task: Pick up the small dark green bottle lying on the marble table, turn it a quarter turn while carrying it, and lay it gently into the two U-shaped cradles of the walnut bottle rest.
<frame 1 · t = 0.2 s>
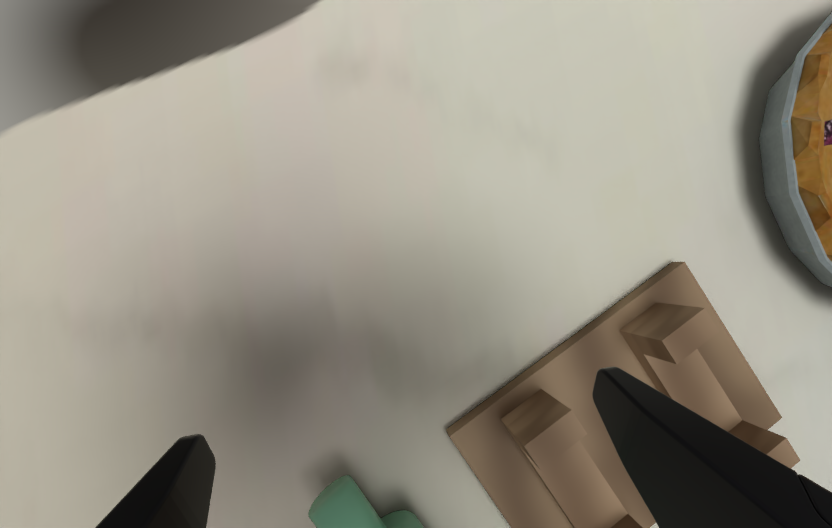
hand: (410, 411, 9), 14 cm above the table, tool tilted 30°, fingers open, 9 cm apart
bottle rest: (614, 420, 25), on the table
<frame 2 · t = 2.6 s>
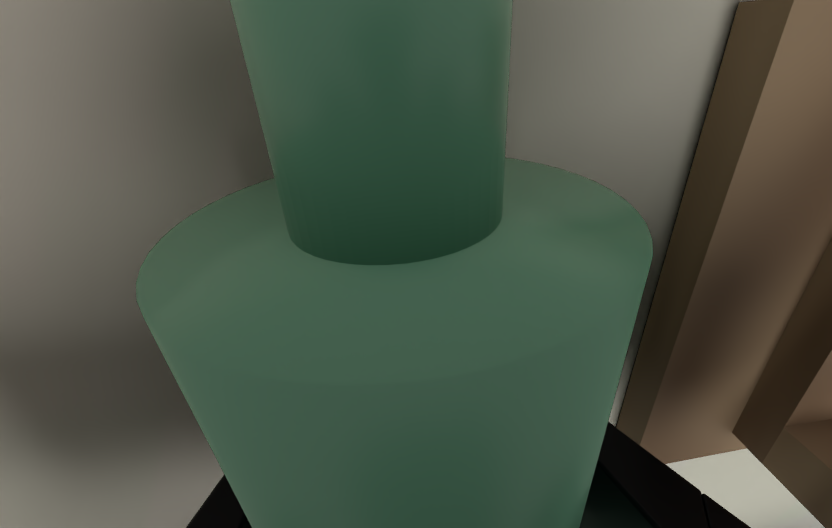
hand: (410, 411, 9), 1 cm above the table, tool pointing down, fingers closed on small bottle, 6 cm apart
small bottle: (407, 385, 10), on the table, touching gripper
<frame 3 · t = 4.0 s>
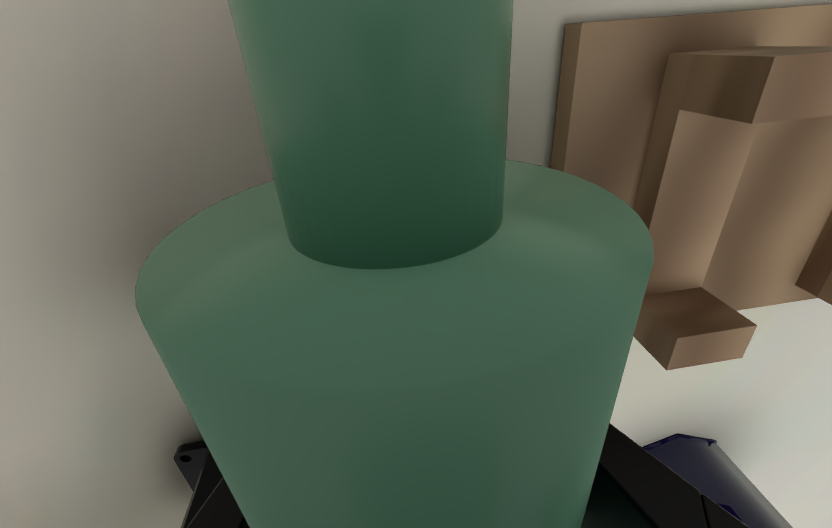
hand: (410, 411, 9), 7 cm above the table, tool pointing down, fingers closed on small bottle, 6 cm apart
small bottle: (408, 386, 10), point 6 cm above the table, touching gripper
bottle: (654, 475, 27), on the table
bottle rest: (756, 179, 16), on the table
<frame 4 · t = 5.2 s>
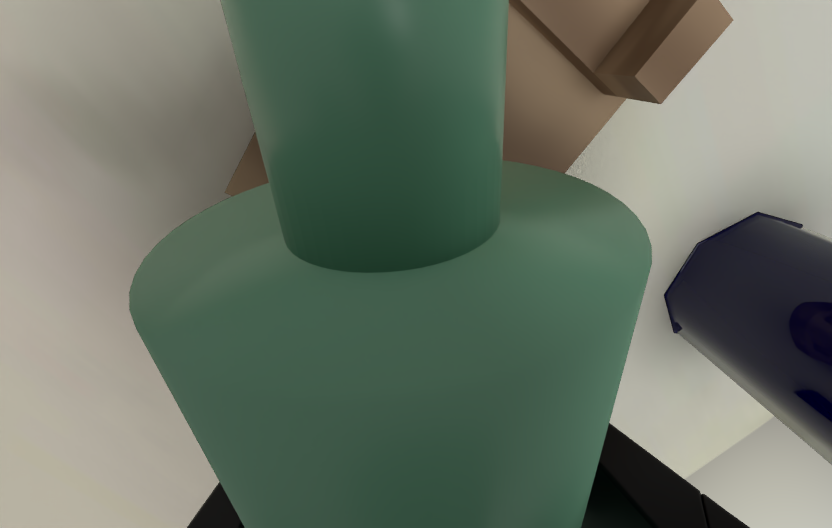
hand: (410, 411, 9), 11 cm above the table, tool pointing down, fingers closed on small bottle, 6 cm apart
small bottle: (407, 387, 10), point 10 cm above the table, touching gripper
bottle: (731, 280, 24), on the table
bottle rest: (463, 83, 16), on the table
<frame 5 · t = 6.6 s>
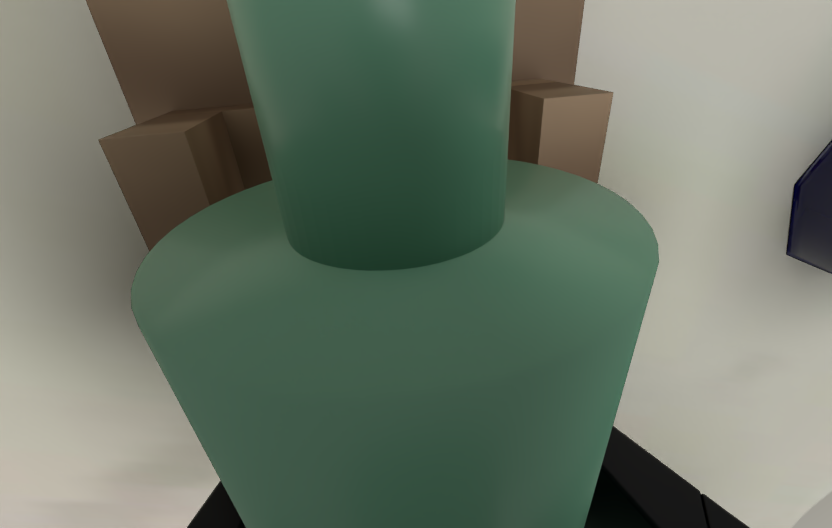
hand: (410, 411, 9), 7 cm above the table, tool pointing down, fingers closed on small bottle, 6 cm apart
small bottle: (408, 387, 10), point 5 cm above the table, touching gripper
bottle rest: (385, 266, 14), on the table
when the fingers open (5 cm above the table, at t = 7.8 s): small bottle drops 2 cm, resting on bottle rest.
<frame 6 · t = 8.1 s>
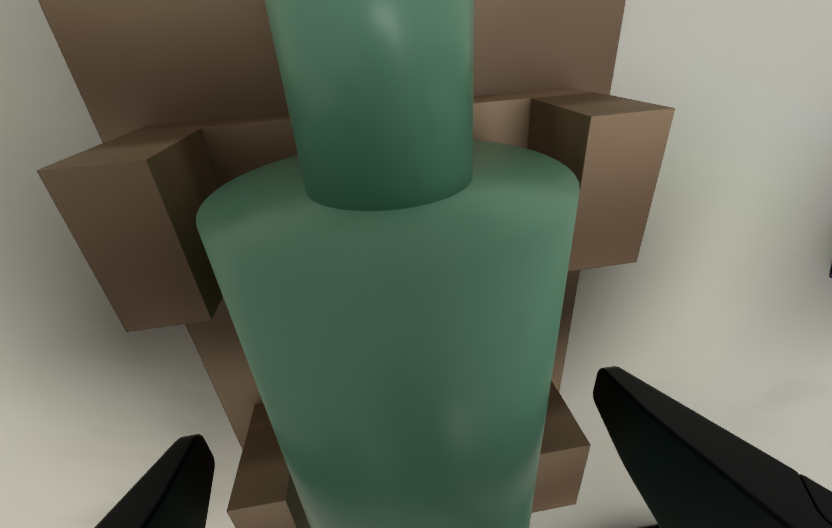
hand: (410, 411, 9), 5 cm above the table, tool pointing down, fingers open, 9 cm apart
small bottle: (402, 347, 12), point 2 cm above the table, touching bottle rest
bottle rest: (391, 294, 13), on the table
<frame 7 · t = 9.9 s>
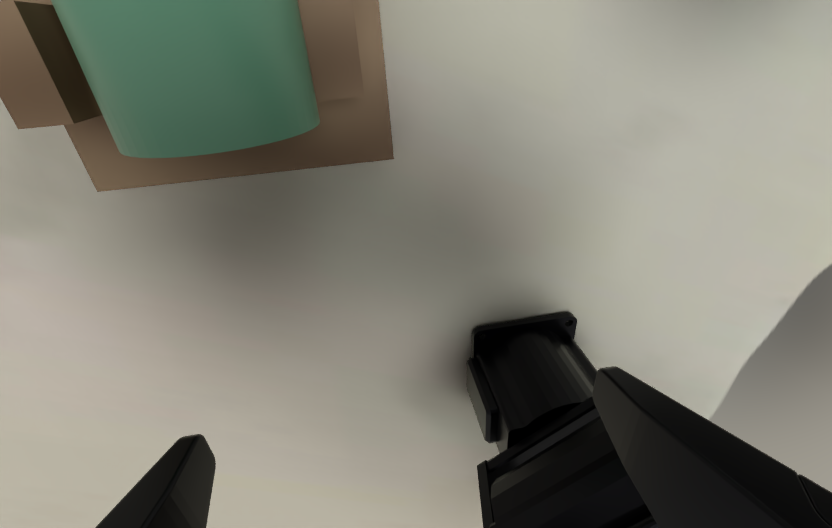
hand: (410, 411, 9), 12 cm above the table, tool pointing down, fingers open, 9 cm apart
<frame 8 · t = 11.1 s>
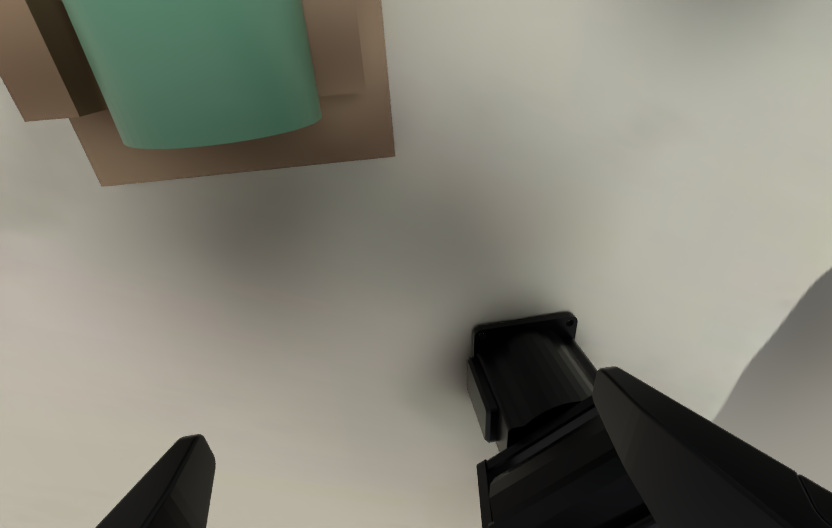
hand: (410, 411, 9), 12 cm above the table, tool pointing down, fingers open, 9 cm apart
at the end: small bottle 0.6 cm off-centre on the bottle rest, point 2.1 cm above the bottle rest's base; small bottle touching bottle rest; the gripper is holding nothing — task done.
